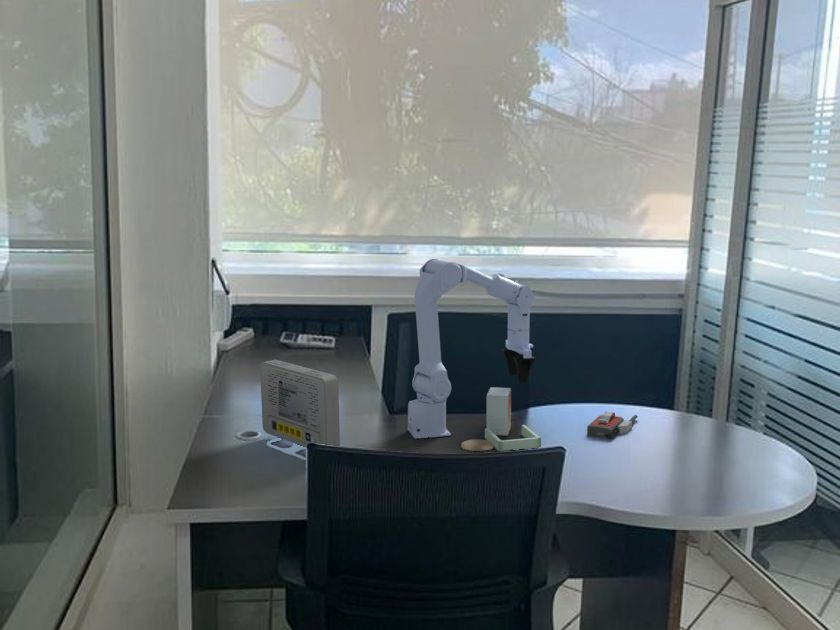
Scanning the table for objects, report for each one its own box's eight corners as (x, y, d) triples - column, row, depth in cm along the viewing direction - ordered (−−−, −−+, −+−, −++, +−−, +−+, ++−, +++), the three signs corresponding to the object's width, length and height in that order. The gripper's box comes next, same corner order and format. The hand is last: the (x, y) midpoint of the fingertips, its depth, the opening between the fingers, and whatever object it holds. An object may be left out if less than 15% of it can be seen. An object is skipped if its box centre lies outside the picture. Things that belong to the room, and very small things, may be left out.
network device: (347, 456, 204) (345, 374, 200) (318, 466, 198) (316, 381, 194) (282, 433, 222) (279, 357, 218) (253, 441, 215) (250, 363, 212)
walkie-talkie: (618, 443, 213) (639, 421, 230) (619, 426, 212) (640, 405, 229) (583, 438, 217) (607, 417, 234) (584, 421, 216) (608, 401, 233)
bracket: (499, 451, 206) (499, 441, 206) (484, 437, 216) (484, 428, 216) (540, 447, 209) (541, 438, 208) (524, 434, 219) (524, 424, 218)
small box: (508, 436, 218) (508, 395, 216) (486, 435, 219) (486, 394, 217) (511, 426, 225) (511, 387, 223) (489, 425, 226) (490, 386, 224)
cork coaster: (466, 453, 205) (466, 451, 205) (457, 442, 213) (457, 440, 213) (498, 450, 207) (498, 448, 207) (487, 439, 215) (487, 438, 215)
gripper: (542, 333, 224) (541, 384, 226) (523, 323, 238) (522, 371, 240) (517, 335, 222) (516, 386, 225) (498, 324, 236) (498, 372, 239)
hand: (517, 378), depth 232 cm, fingers open, 7 cm apart
